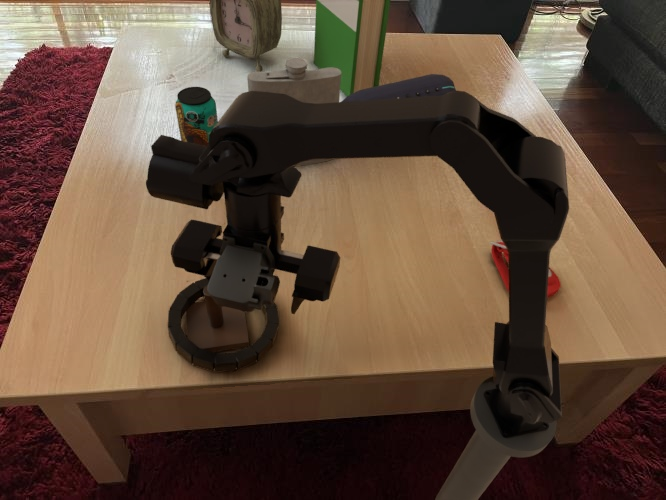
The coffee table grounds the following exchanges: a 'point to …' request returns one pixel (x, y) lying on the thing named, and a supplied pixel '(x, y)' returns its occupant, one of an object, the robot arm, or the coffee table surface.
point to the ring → (210, 358)
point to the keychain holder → (504, 271)
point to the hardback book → (351, 40)
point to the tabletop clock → (247, 26)
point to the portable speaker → (406, 89)
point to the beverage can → (196, 115)
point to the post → (216, 325)
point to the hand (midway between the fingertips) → (259, 303)
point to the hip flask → (300, 85)
